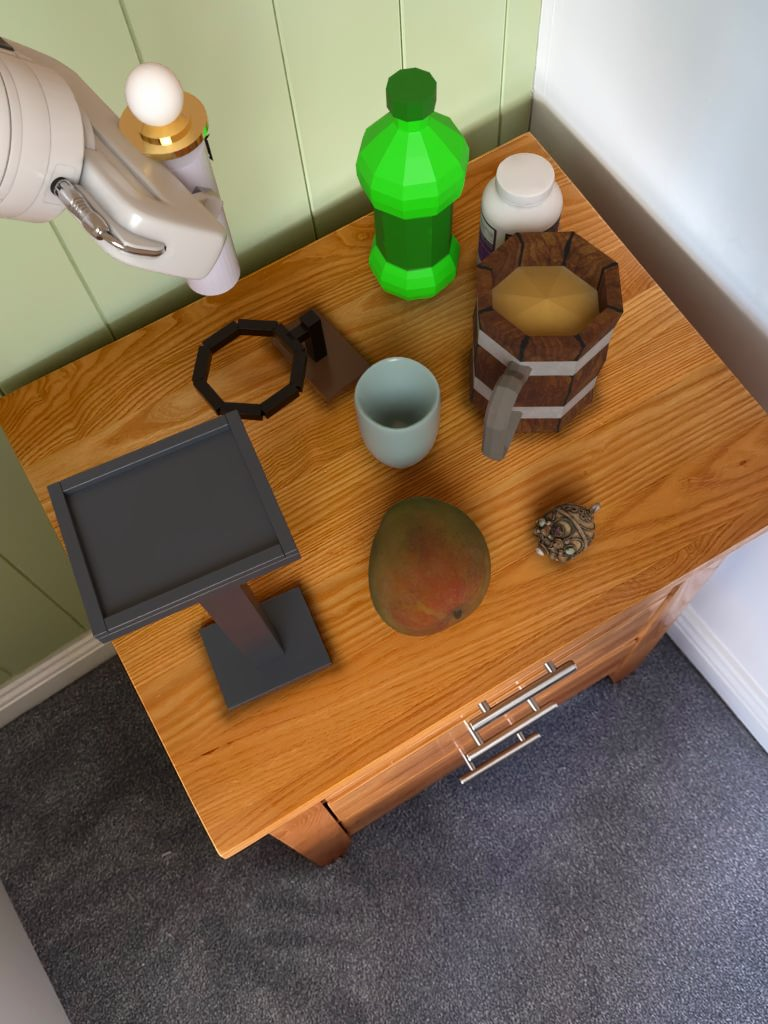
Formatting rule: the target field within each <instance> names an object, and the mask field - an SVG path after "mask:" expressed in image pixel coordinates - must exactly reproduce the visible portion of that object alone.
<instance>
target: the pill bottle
mask: <svg viewBox="0 0 768 1024" xmlns="http://www.w3.org/2000/svg"><path fill="white" fill-rule="evenodd" d="M555 175H556V174H555V169H554V167H553V165H552V164H551V162H550V161H549V160H547V158H545V157H543V156H542V155H539V154H536V153H533V152H518V153H514V154H511V155H508V156H507V157H505V158H504V159H503V160H502V161H501V162H500V163H499V165H498V167H497V169H496V172H495V176H493V177H492V178H491V179H490V180H489V182H487V184H486V186H485V187H484V189H483V191H482V194H481V199H480V213H479V214H480V215H479V230H478V244H477V255H476V256H477V257H476V266H477V265H478V264H479V263H480V262H481V261H482V260H484V259H485V258H486V257H487V256H488V255H490V254H491V253H492V252H493V251H494V250H496V249H497V248H498V247H499V246H500V245H502V244H503V243H504V242H505V241H506V240H508V239H509V238H510V237H511V236H512V235H514V234H515V233H516V232H559V228H560V222H561V219H562V218H561V217H562V212H563V206H564V197H563V192H562V190H561V188H560V186H559V184H558V183H557V181H556V180H555Z"/></svg>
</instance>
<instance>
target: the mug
mask: <svg viewBox="0 0 768 1024" xmlns="http://www.w3.org/2000/svg"><path fill="white" fill-rule="evenodd" d="M474 305H475V306H474V309H473V314H472V348H471V351H470V354H469V358H468V381H469V382H468V383H469V384H468V385H469V402H470V404H472V405H473V406H474V407H475V408H477V409H478V411H480V412H481V413H483V414H484V418H483V428H482V429H483V431H482V438H481V453H482V455H483V456H484V457H487V458H488V459H490V460H493V461H498V462H500V461H502V460H503V459H505V457H506V456H507V453H508V451H509V449H510V447H511V444H512V442H513V439H514V437H515V434H520V433H521V434H522V433H523V434H529V433H530V434H531V433H533V434H534V433H535V434H537V433H539V434H540V433H541V434H542V433H543V434H544V433H545V434H547V433H548V434H550V433H554V434H555V433H556V434H557V433H560V431H562V430H563V429H564V428H565V427H566V426H567V425H568V424H569V423H570V422H571V421H572V420H573V419H574V418H576V416H578V415H579V414H580V413H581V412H582V411H583V410H584V409H585V408H586V407H587V406H589V405H590V403H591V402H593V396H594V389H595V388H594V387H595V385H596V382H597V379H598V376H599V374H600V373H601V370H602V368H603V367H604V366H605V363H606V361H607V357H608V351H609V348H610V347H609V346H610V341H611V338H612V335H613V333H614V330H615V327H616V326H617V324H618V322H619V321H620V319H621V317H622V315H623V314H624V312H625V311H624V302H623V294H622V285H621V275H620V266H619V262H617V261H616V260H614V259H613V258H612V257H610V256H609V255H608V254H606V253H605V252H604V251H602V250H601V249H599V248H598V247H596V246H595V245H593V244H592V243H591V242H589V241H588V240H586V238H584V237H583V236H581V235H580V234H578V233H577V232H575V231H573V230H572V231H571V230H569V231H567V230H566V231H558V232H516V233H515V234H514V235H512V236H511V237H510V238H509V239H508V240H506V241H505V242H504V243H503V244H502V245H500V246H499V247H498V248H497V249H496V250H494V251H493V252H492V253H491V254H490V255H488V256H487V257H486V258H485V259H484V260H482V261H481V262H480V263H479V264H478V265H477V264H476V301H475V304H474Z"/></svg>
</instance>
